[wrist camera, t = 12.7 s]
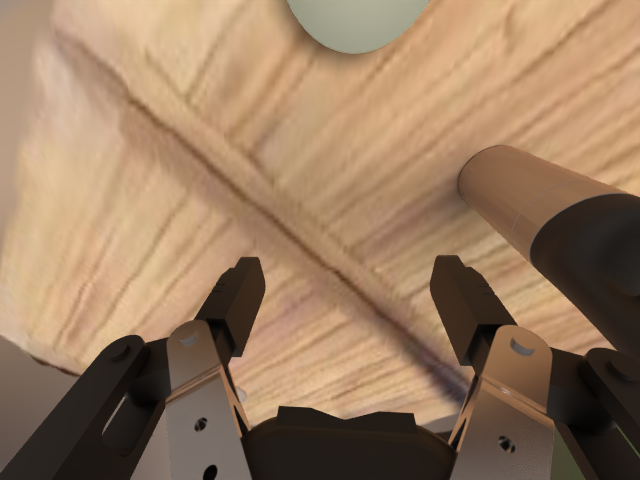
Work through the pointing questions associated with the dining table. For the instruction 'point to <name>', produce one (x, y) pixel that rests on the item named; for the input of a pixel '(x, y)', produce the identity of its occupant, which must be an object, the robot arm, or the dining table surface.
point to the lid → (356, 21)
